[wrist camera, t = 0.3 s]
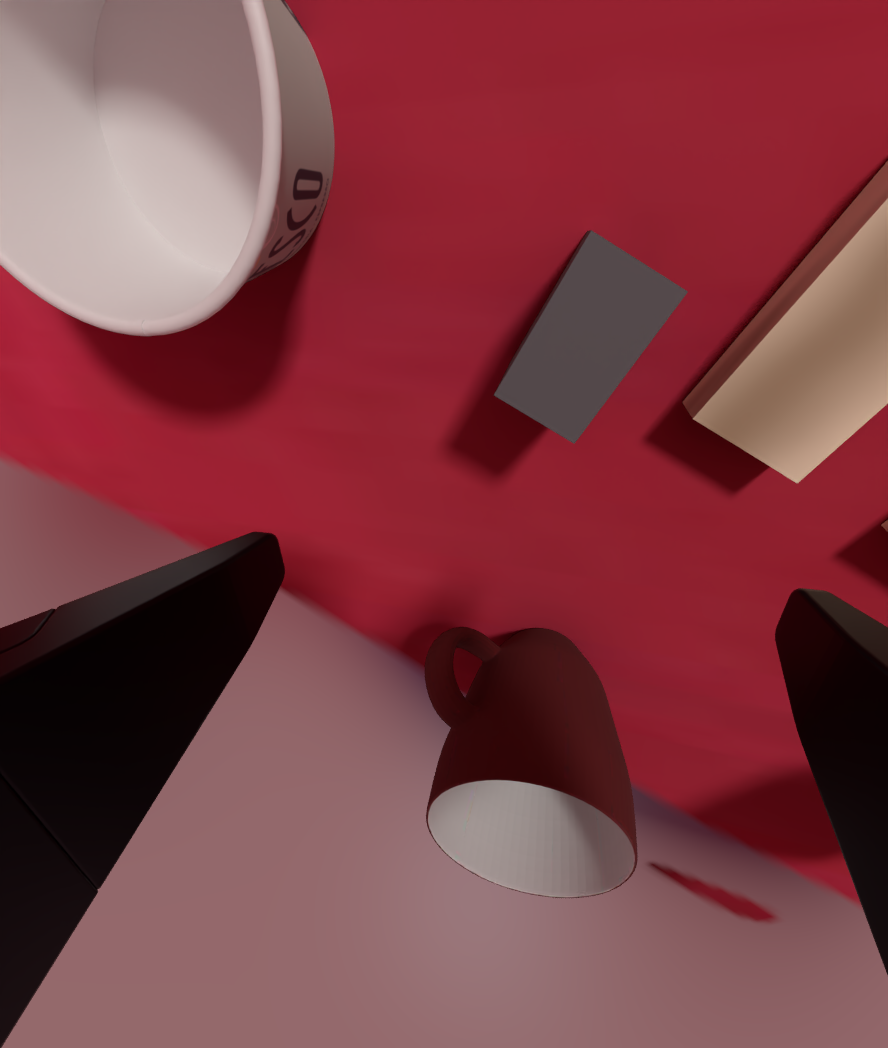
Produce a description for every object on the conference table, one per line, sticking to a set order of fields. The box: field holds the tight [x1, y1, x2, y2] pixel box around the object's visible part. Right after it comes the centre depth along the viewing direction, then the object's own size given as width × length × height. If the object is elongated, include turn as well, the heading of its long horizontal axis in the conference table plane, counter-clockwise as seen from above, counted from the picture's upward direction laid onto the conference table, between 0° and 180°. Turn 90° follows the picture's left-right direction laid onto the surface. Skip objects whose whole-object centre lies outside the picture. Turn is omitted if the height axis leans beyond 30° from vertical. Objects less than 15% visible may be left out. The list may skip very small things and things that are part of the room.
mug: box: [425, 627, 637, 898], centre depth 23 cm, size 11×8×10 cm
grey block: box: [494, 230, 687, 443], centre depth 16 cm, size 3×5×5 cm, turn 153°
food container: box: [0, 0, 334, 336], centre depth 15 cm, size 12×12×6 cm
